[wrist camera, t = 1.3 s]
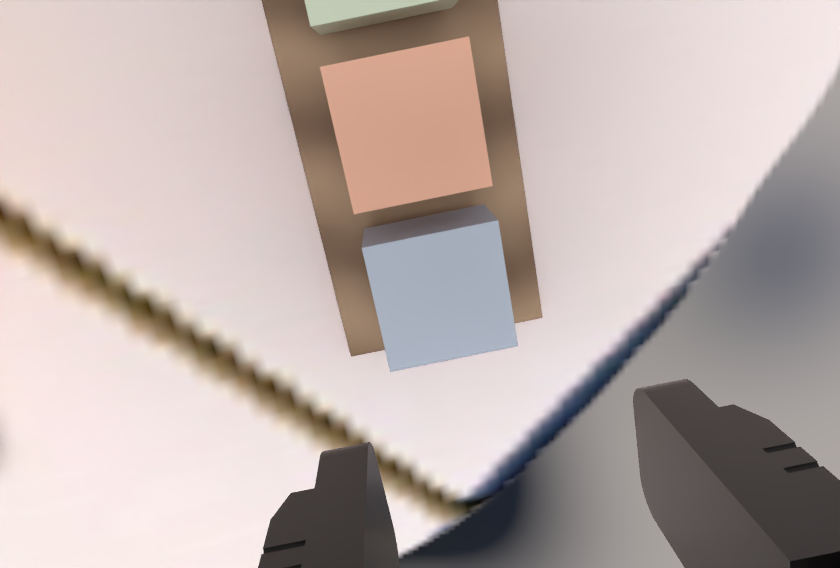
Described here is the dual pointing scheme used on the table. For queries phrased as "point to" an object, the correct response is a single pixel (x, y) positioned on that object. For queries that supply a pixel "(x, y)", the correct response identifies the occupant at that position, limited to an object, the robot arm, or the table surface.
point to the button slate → (440, 287)
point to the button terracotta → (408, 125)
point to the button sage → (366, 12)
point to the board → (344, 230)
